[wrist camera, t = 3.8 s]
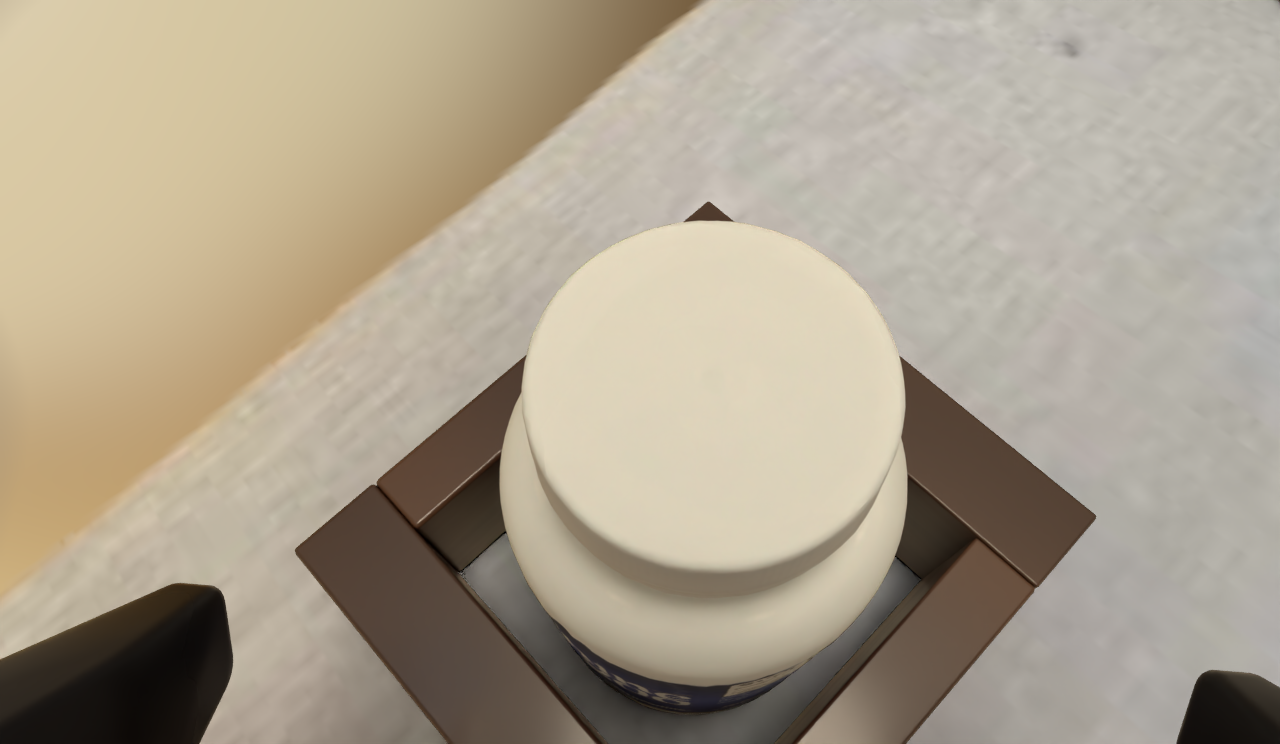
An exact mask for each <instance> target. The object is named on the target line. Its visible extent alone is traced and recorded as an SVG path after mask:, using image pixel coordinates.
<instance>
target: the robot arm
mask: <svg viewBox="0 0 1280 744" xmlns="http://www.w3.org/2000/svg"><path fill="white" fill-rule="evenodd" d="M232 668H233V653H232V646H231V639H230V632H229V625H228V618H227V611H226V604H225V600H224V596H223V594H222V592H221V591H220V590H219V589H218V588H216V587H215V586H210V585H198V584H187V583H175V584H171V585H168V586H166V587H164V588H162V589H159V590H157V591H155V592H153V593H150V594H148V595H146V596H143V597H141V598H139V599H137V600H134V601H132V602H130V603H128V604H125V605H123V606H121V607H118V608H116V609H114V610H112V611H109V612H107V613H105V614H103V615H100V616H98V617H96V618H93V619H91V620H89V621H87V622H84V623H82V624H80V625H78V626H75V627H73V628H71V629H68V630H66V631H64V632H62V633H59V634H57V635H55V636H53V637H50V638H48V639H46V640H43V641H41V642H39V643H37V644H34V645H32V646H30V647H27V648H25V649H23V650H21V651H18V652H16V653H14V654H12V655H9V656H7V657H5V658H2V659H0V744H199V743H200V741H201V739H202V737H203V735H204V733H205V731H206V729H207V727H208V725H209V723H210V721H211V719H212V716H213V714H214V712H215V710H216V708H217V706H218V704H219V702H220V700H221V698H222V696H223V694H224V692H225V690H226V688H227V685H228V683H229V680H230V677H231V673H232ZM1177 744H1280V687H1278V686H1276V685H1275V684H1273V683H1271V682H1269V681H1268V680H1266V679H1264V678H1262V677H1260V676H1258V675H1255V674H1252V673H1244V672H1232V671H1220V670H1209V671H1207V672H1204V673H1203V674H1201V676H1200V677H1199V678H1198V679H1197V681H1196V684H1195V686H1194V689H1193V692H1192V695H1191V698H1190V701H1189V705H1188V708H1187V711H1186V714H1185V717H1184V720H1183V723H1182V726H1181V729H1180V732H1179V735H1178V739H1177Z"/></svg>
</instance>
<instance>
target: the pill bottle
mask: <svg viewBox="0 0 1280 744" xmlns="http://www.w3.org/2000/svg"><path fill="white" fill-rule="evenodd" d="M521 389H522V392H521V394H520V396H519V398H518V400H517V402H516V404H515V407H514V409H513V412H512V415H511V418H510V420H509V424H508V427H507V431H506V434H505V438H504V443H503V448H502V453H501V462H500V501H501V508H502V513H503V519H504V524H505V529H506V532H507V535H508V538H509V541H510V545H511V548H512V550H513V552H514V555H515V557H516V559H517V562H518V564H519V566H520V568H521V571H522V573H523V575H524V577H525V579H526V582H527V583H528V585H529V586H530V588H531V590H532V591H533V593H534V594H535V596H536V597H537V599H538V601H539V602H540V604H541V605H542V607H543V608H544V610H545V611H546V612H547V613H548V615H549V616H550V617H551V618H552V620H553V621H554V623H555V625H556V626H557V628H558V629H559V630H560V632H561V633H562V634H563V636H564V637H565V638H566V640H567V641H568V643H569V644H570V645H571V647H572V648H573V649H574V650H575V652H576V653H577V654H578V655H579V656H580V657H581V659H582V660H583V661H584V662H585V663H586V664H587V666H588V667H589V668H590V669H591V670H592V671H593V672H594V673H595V674H596V675H597V676H599V677H600V678H601V679H602V680H603V681H604V682H606V683H607V684H608V685H609V686H611V687H612V688H613V689H615V690H616V691H618V692H619V693H621V694H622V695H624V696H626V697H628V698H630V699H632V700H634V701H636V702H638V703H640V704H642V705H644V706H647V707H649V708H653V709H656V710H660V711H664V712H670V713H677V714H707V713H714V712H720V711H724V710H728V709H732V708H735V707H737V706H740V705H743V704H745V703H748V702H750V701H752V700H754V699H756V698H758V697H760V696H761V695H763V694H765V693H766V692H768V691H769V690H771V689H772V688H774V687H775V686H776V685H778V684H779V683H781V682H782V681H783V680H784V679H785V678H787V677H788V676H789V675H791V674H792V673H794V672H795V671H797V670H798V669H799V668H800V667H801V666H803V665H804V664H805V663H807V662H808V661H809V660H810V659H812V658H813V657H814V656H815V655H816V654H818V653H819V652H820V651H821V650H823V649H824V648H826V647H827V646H829V645H830V644H832V643H833V642H834V641H835V640H836V639H837V638H838V637H839V636H840V635H841V634H842V633H843V632H844V631H845V630H846V629H847V628H848V627H849V626H850V625H851V624H852V623H853V622H854V621H855V620H856V619H857V618H858V616H859V615H860V614H861V613H862V612H863V610H864V609H865V607H866V606H867V604H868V603H869V602H870V601H871V599H872V598H873V596H874V595H875V593H876V592H877V590H878V589H879V587H880V585H881V583H882V582H883V580H884V578H885V576H886V575H887V572H888V570H889V568H890V566H891V564H892V562H893V560H894V557H895V554H896V552H897V549H898V546H899V543H900V540H901V535H902V531H903V527H904V521H905V514H906V508H907V467H906V458H905V452H904V448H903V443H902V439H901V435H902V430H903V423H904V416H905V408H906V407H905V386H904V378H903V372H902V365H901V361H900V357H899V354H898V351H897V347H896V345H895V342H894V340H893V337H892V335H891V332H890V330H889V328H888V326H887V324H886V322H885V320H884V318H883V316H882V314H881V313H880V311H879V310H878V308H877V307H876V305H875V304H874V303H873V301H872V300H871V298H870V297H869V295H868V294H867V293H866V292H865V291H864V289H863V288H862V287H861V286H860V285H859V284H858V283H857V282H856V281H855V280H854V279H853V278H852V277H851V276H850V275H849V274H848V273H847V272H846V271H845V270H844V269H843V268H841V267H840V266H839V265H838V264H836V263H835V262H833V261H832V260H830V259H829V258H827V257H826V256H824V255H823V254H821V253H820V252H818V251H817V250H815V249H814V248H812V247H810V246H808V245H806V244H805V243H803V242H801V241H800V240H797V239H795V238H792V237H789V236H786V235H784V234H781V233H779V232H776V231H773V230H769V229H765V228H761V227H757V226H753V225H750V224H746V223H736V222H731V221H689V222H682V223H674V224H670V225H666V226H662V227H658V228H654V229H649V230H646V231H644V232H641V233H639V234H636V235H634V236H631V237H629V238H626V239H624V240H622V241H620V242H618V243H616V244H614V245H612V246H610V247H609V248H607V249H606V250H604V251H602V252H601V253H599V254H598V255H596V256H595V257H593V258H592V259H590V260H589V261H588V262H586V263H585V264H584V265H583V266H582V267H581V268H579V269H578V270H577V271H576V272H575V273H574V274H572V275H571V276H570V278H569V279H568V280H567V281H566V282H565V284H564V285H563V286H562V287H561V288H560V289H559V291H558V292H557V293H556V294H555V296H554V297H553V298H552V300H551V301H550V303H549V304H548V306H547V307H546V309H545V310H544V312H543V314H542V317H541V319H540V321H539V323H538V325H537V327H536V329H535V331H534V333H533V335H532V337H531V341H530V345H529V348H528V352H527V356H526V359H525V365H524V372H523V380H522V387H521Z"/></svg>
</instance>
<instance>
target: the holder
mask: <svg viewBox="0 0 1280 744" xmlns="http://www.w3.org/2000/svg"><path fill="white" fill-rule="evenodd" d="M689 221H731V222H734V221H733V220H731V219H730V218H729V217H728V216H726V215H725V214H724V213H723V212H722V211H720V210H719V209H718V208H717V207H715V206H714V205H713V204H712V203H710V202H707V203H706V204H704V205H703V206H702V207H701V208H700V209H698V210H697V211H696V212H695V213H694V214H692V215H691V216H690V217H689V218H688V219H686V220H685V221H684V222H689ZM526 356H527V355H526ZM526 356H525V357H523V358H522V359H521V360H520V361H519V362H517V363H516V364H515V365H514V366H513V367H511V368H510V369H509V370H508V371H507V372H506V373H504V374H503V375H502V376H501V377H500V378H498V379H497V380H496V381H495V382H494V383H492V384H491V385H490V386H489V387H488V388H486V389H485V390H484V391H483V392H482V393H481V394H479V395H478V396H477V397H476V398H475V399H473V400H472V401H471V402H470V403H469V404H467V405H466V406H465V407H464V408H463V409H461V410H460V411H459V412H458V413H457V414H456V415H454V416H453V417H452V418H451V419H450V420H448V421H447V422H446V423H445V424H444V425H442V426H441V427H440V428H439V429H438V430H436V431H435V432H434V433H433V434H432V435H431V436H429V437H428V438H427V439H426V440H425V441H423V442H422V443H421V444H420V445H419V446H417V447H416V448H415V449H414V450H413V451H411V452H410V453H409V454H408V455H407V456H406V457H404V458H403V459H402V460H401V461H400V462H398V463H397V464H396V465H395V466H394V467H392V468H391V469H390V470H389V471H388V472H386V473H385V474H384V475H383V476H382V477H381V478H379V479H378V481H377V486H376V485H371V486H369V487H368V488H367V489H366V490H365V491H363V492H362V493H361V494H360V495H359V496H357V497H356V498H355V499H354V500H353V501H352V502H350V503H349V504H348V505H347V506H346V507H344V508H343V509H342V510H341V511H340V512H338V513H337V514H336V515H335V516H334V517H332V518H331V519H330V520H329V521H328V522H327V523H325V524H324V525H323V526H322V527H321V528H319V529H318V530H317V531H316V532H315V533H313V534H312V535H311V536H310V537H309V538H307V539H306V540H305V541H304V542H303V543H302V544H300V545H299V546H298V547H297V548H296V549H295V552H296V555H297V556H298V557H299V559H300V560H301V561H302V562H303V564H304V565H305V566H306V567H307V569H308V570H309V571H310V572H311V574H312V575H313V576H314V577H315V579H316V580H317V581H318V582H319V584H320V585H321V586H322V587H323V589H324V590H325V591H326V592H327V594H328V595H329V596H330V597H331V598H332V600H333V601H334V602H335V603H336V605H337V606H338V607H339V608H340V610H341V611H342V612H343V613H344V615H345V616H346V617H347V618H348V620H349V621H350V622H351V623H352V625H353V626H354V627H355V628H356V630H357V631H358V632H359V633H360V635H361V636H362V637H363V638H364V640H365V641H366V642H367V643H368V645H369V646H370V647H371V648H372V649H373V651H374V652H375V653H376V654H377V656H378V657H379V658H380V659H381V661H382V662H383V663H384V664H385V666H386V667H387V668H388V669H389V671H390V672H391V673H392V674H393V676H394V677H395V678H396V679H397V681H398V682H399V683H400V684H401V686H402V687H403V688H404V689H405V691H406V692H407V693H408V694H409V696H410V697H411V698H412V699H413V700H414V702H415V703H416V704H417V705H418V707H419V708H420V709H421V710H422V712H423V713H424V714H425V715H426V717H427V718H428V719H429V720H430V722H431V723H432V724H433V725H434V727H435V728H436V729H437V730H438V732H439V733H440V734H441V735H442V737H443V738H444V739H445V740H446V742H447V743H448V744H608V743H607V742H606V741H605V740H604V738H603V737H602V736H601V735H600V734H599V733H598V732H597V730H596V729H595V728H594V727H593V726H592V725H591V724H590V723H589V721H588V720H587V719H586V718H585V717H584V716H583V715H582V713H581V712H580V711H579V710H578V709H577V708H576V707H575V705H574V704H573V703H572V702H571V701H570V700H569V699H568V697H567V696H566V695H565V694H564V693H563V692H562V691H561V689H560V688H559V687H558V686H557V685H556V684H555V683H554V682H553V680H552V679H551V678H550V677H549V676H548V675H547V674H546V672H545V671H544V670H543V669H542V668H541V667H540V666H539V664H538V663H537V662H536V661H535V660H534V659H533V658H532V656H531V655H530V654H529V653H528V652H527V651H526V650H525V648H524V647H523V646H522V645H521V644H520V643H519V642H518V640H517V639H516V638H515V637H514V636H513V635H512V634H511V633H510V631H509V630H508V629H507V628H506V627H505V626H504V625H503V623H502V622H501V621H500V620H499V619H498V618H497V617H496V615H495V614H494V613H493V612H492V611H491V610H490V609H489V607H488V606H487V605H486V604H485V603H484V602H483V601H482V599H481V598H480V597H479V596H478V595H477V594H476V593H475V591H474V590H473V589H472V588H471V587H470V586H469V585H468V584H467V582H466V581H465V580H464V579H463V578H462V577H461V576H460V574H459V573H458V572H457V571H461V570H462V569H464V568H465V567H466V566H467V565H468V564H469V563H470V562H471V561H472V560H474V559H475V558H476V557H477V556H478V555H479V554H480V553H481V552H482V551H483V550H485V549H486V548H487V547H488V546H489V545H490V544H491V543H492V542H493V541H495V540H496V539H497V538H498V537H499V536H500V535H501V534H502V533H503V532H505V531H506V529H505V524H504V519H503V513H502V508H501V501H500V462H501V453H502V448H503V443H504V438H505V434H506V431H507V427H508V424H509V420H510V418H511V415H512V412H513V409H514V407H515V404H516V402H517V400H518V398H519V396H520V394H521V392H522V389H521V387H522V380H523V372H524V365H525V359H526ZM899 357H900V356H899ZM900 361H901V365H902V372H903V378H904V386H905V407H906V408H905V416H904V423H903V430H902V435H901V439H902V443H903V448H904V452H905V458H906V467H907V508H906V514H905V521H904V527H903V531H902V535H901V540H900V543H899V546H898V549H897V552H896V554H895V555H896V556H897V557H898V558H899V559H900V560H902V561H903V562H904V563H905V564H906V565H907V566H908V567H909V568H910V569H911V570H913V571H914V572H915V573H916V574H917V575H918V576H919V577H920V578H921V579H922V580H921V581H920V582H919V583H918V584H917V585H916V586H915V587H914V588H913V590H912V591H911V592H910V593H909V594H908V595H907V596H906V597H905V598H904V600H903V601H902V602H901V603H900V604H899V605H898V606H897V607H896V608H895V610H894V611H893V612H892V613H891V614H890V615H889V616H888V617H887V619H886V620H885V621H884V622H883V623H882V624H881V625H880V626H879V627H878V629H877V630H876V631H875V632H874V633H873V634H872V635H871V636H870V637H869V639H868V640H867V641H866V642H865V643H864V644H863V645H862V646H861V647H860V649H859V650H858V651H857V652H856V653H855V654H854V655H853V656H852V657H851V659H850V660H849V661H848V662H847V663H846V664H845V665H844V666H843V667H842V669H841V670H840V671H839V672H838V673H837V674H836V675H835V676H834V678H833V679H832V680H831V681H830V682H829V683H828V684H827V685H826V686H825V688H824V689H823V690H822V691H821V692H820V693H819V694H818V695H817V696H816V698H815V699H814V700H813V701H812V702H811V703H810V704H809V705H808V706H807V708H806V709H805V710H804V711H803V712H802V713H801V714H800V715H799V716H798V718H797V719H796V720H795V721H794V722H793V723H792V724H791V725H790V727H789V728H788V729H787V730H786V731H785V732H784V733H783V734H782V735H781V737H780V738H779V739H778V740H777V741H776V742H775V743H774V744H906V743H907V742H908V741H909V739H910V738H911V737H912V736H913V735H914V733H915V732H916V731H917V730H918V729H919V728H920V726H921V725H922V724H923V723H924V722H925V720H926V719H927V718H928V717H929V716H930V715H931V713H932V712H933V711H934V710H935V709H936V707H937V706H938V705H939V704H940V703H941V701H942V700H943V699H944V698H945V697H946V696H947V694H948V693H949V692H950V691H951V690H952V688H953V687H954V686H955V685H956V684H957V683H958V681H959V680H960V679H961V678H962V677H963V675H964V674H965V673H966V672H967V671H968V670H969V668H970V667H971V666H972V665H973V664H974V662H975V661H976V660H977V659H978V658H979V656H980V655H981V654H982V653H983V652H984V651H985V649H986V648H987V647H988V646H989V645H990V643H991V642H992V641H993V640H994V639H995V638H996V636H997V635H998V634H999V633H1000V632H1001V630H1002V629H1003V628H1004V627H1005V626H1006V624H1007V623H1008V622H1009V621H1010V620H1011V619H1012V617H1013V616H1014V615H1015V614H1016V613H1017V611H1018V610H1019V609H1020V608H1021V607H1022V606H1023V604H1024V603H1025V602H1026V601H1027V600H1028V598H1029V597H1030V596H1031V595H1032V594H1033V592H1034V589H1035V588H1037V587H1039V586H1040V584H1041V583H1042V582H1043V581H1044V580H1045V578H1046V577H1047V576H1048V575H1049V574H1050V573H1051V571H1052V570H1053V569H1054V568H1055V567H1056V565H1057V564H1058V563H1059V562H1060V561H1061V559H1062V558H1063V557H1064V556H1065V555H1066V554H1067V552H1068V551H1069V550H1070V549H1071V548H1072V546H1073V545H1074V544H1075V543H1076V542H1077V541H1078V539H1079V538H1080V537H1081V536H1082V535H1083V533H1084V532H1085V531H1086V530H1087V529H1088V527H1089V526H1090V525H1091V524H1092V523H1093V522H1094V520H1095V519H1096V515H1095V514H1094V513H1092V512H1091V511H1090V510H1089V509H1087V508H1086V507H1085V506H1084V505H1082V504H1081V503H1080V502H1079V501H1078V500H1076V499H1075V498H1074V497H1073V496H1071V495H1070V494H1069V493H1068V492H1066V491H1065V490H1064V489H1063V488H1062V487H1060V486H1059V485H1058V484H1057V483H1055V482H1054V481H1053V480H1052V479H1050V478H1049V477H1048V476H1047V475H1046V474H1044V473H1043V472H1042V471H1041V470H1039V469H1038V468H1037V467H1036V466H1034V465H1033V464H1032V463H1031V462H1030V461H1028V460H1027V459H1026V458H1025V457H1023V456H1022V455H1021V454H1020V453H1018V452H1017V451H1016V450H1015V449H1014V448H1012V447H1011V446H1010V445H1009V444H1007V443H1006V442H1005V441H1004V440H1002V439H1001V438H1000V437H999V436H997V435H996V434H995V433H994V432H993V431H991V430H990V429H989V428H988V427H986V426H985V425H984V424H983V423H981V422H980V421H979V420H978V419H977V418H975V417H974V416H973V415H972V414H970V413H969V412H968V411H967V410H965V409H964V408H963V407H962V406H961V405H959V404H958V403H957V402H956V401H954V400H953V399H952V398H951V397H949V396H948V395H947V394H946V393H945V392H943V391H942V390H941V389H940V388H938V387H937V386H936V385H935V384H933V383H932V382H931V381H930V380H929V379H927V378H926V377H925V376H924V375H922V374H921V373H920V372H919V371H917V370H916V369H915V368H914V367H912V366H911V365H910V364H909V363H908V362H906V361H905V360H904V359H903V358H901V357H900ZM456 570H457V571H456Z"/></svg>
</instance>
